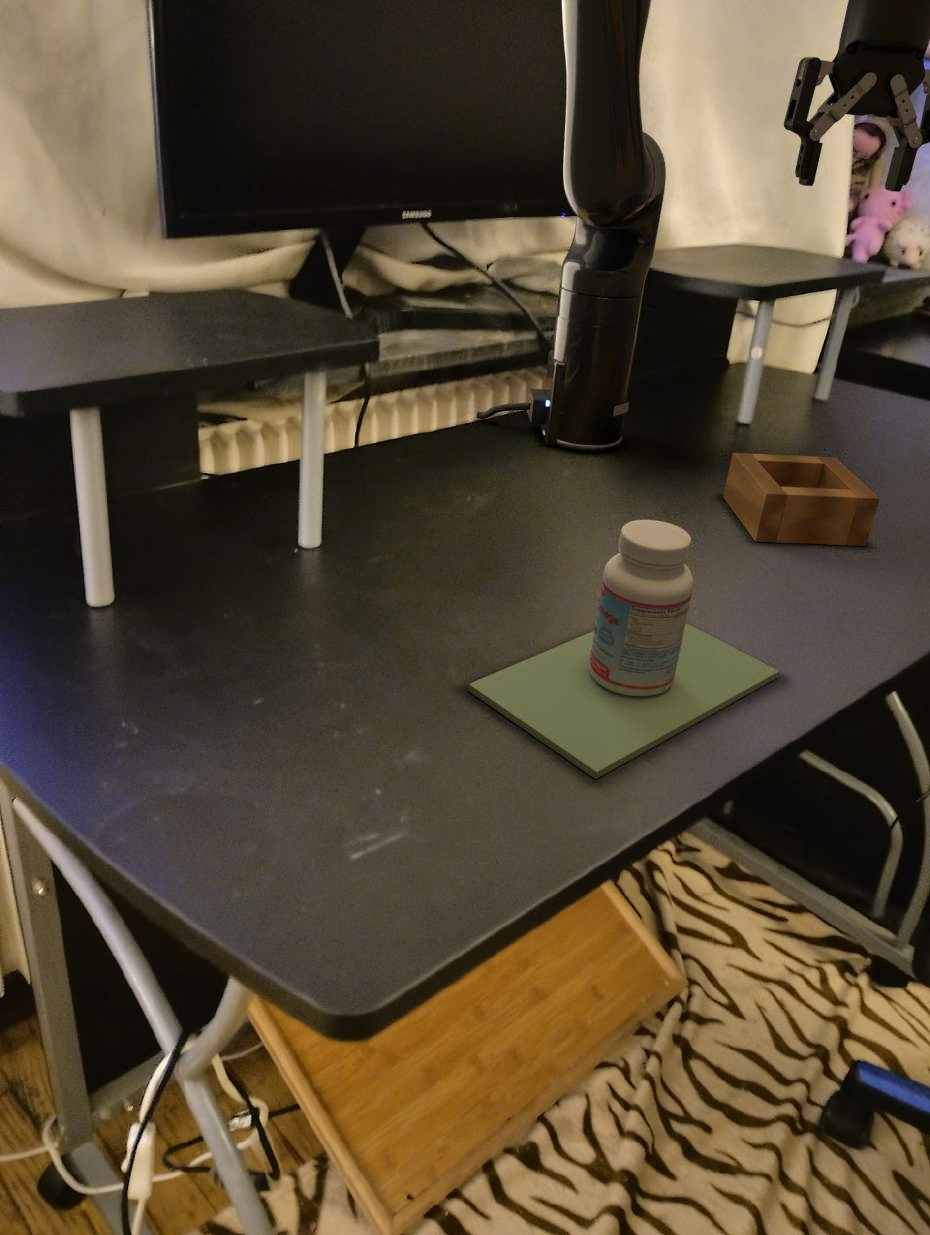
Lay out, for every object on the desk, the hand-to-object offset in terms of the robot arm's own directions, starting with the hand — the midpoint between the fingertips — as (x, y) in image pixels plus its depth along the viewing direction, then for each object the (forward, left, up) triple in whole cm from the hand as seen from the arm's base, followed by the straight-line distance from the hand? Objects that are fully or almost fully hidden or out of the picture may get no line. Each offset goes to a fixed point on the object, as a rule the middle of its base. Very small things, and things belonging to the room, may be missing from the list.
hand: (848, 188), depth 93 cm
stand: (-2, -10, -30) cm, 32 cm away
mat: (-25, -41, -30) cm, 57 cm away
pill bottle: (-25, -41, -30) cm, 56 cm away
